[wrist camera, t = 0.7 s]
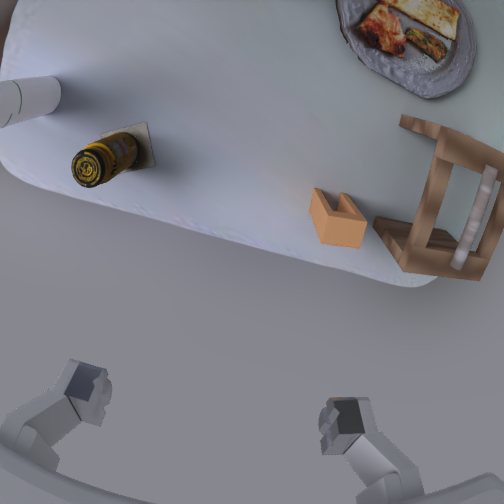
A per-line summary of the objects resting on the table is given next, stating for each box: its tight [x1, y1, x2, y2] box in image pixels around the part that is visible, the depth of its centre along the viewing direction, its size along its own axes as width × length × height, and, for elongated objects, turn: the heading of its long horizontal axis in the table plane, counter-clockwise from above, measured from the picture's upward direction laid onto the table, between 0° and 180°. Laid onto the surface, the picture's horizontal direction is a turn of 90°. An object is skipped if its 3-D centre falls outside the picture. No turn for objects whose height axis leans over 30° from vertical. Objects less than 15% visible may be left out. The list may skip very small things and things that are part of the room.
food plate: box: [336, 0, 476, 98], centre depth 31 cm, size 25×23×4 cm
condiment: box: [72, 122, 155, 188], centre depth 39 cm, size 7×8×12 cm
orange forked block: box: [309, 188, 367, 249], centre depth 44 cm, size 4×6×11 cm
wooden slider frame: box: [373, 114, 504, 281], centre depth 39 cm, size 20×16×16 cm
